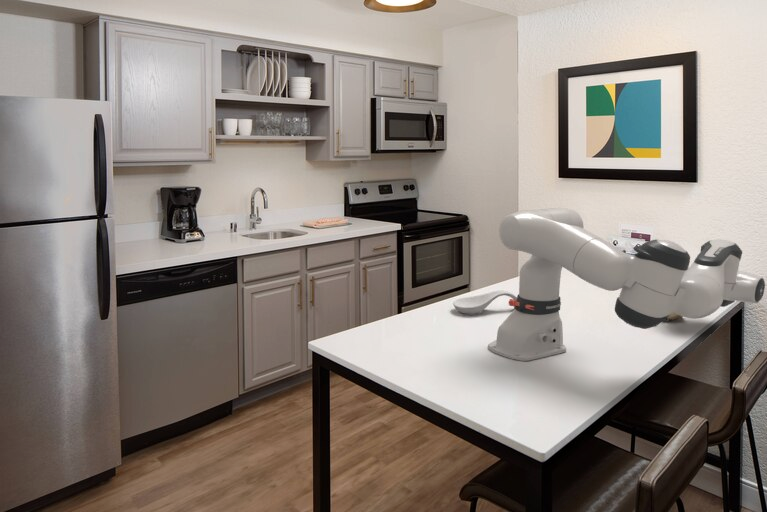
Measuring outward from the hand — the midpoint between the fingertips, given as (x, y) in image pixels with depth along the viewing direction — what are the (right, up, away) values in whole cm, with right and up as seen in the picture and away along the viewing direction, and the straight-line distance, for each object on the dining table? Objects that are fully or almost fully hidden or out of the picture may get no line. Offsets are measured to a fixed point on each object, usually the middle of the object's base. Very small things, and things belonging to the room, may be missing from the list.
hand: (665, 270), depth 180 cm
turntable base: (+1, -15, +2) cm, 16 cm away
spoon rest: (-56, -15, +12) cm, 59 cm away
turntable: (0, -14, +2) cm, 14 cm away
